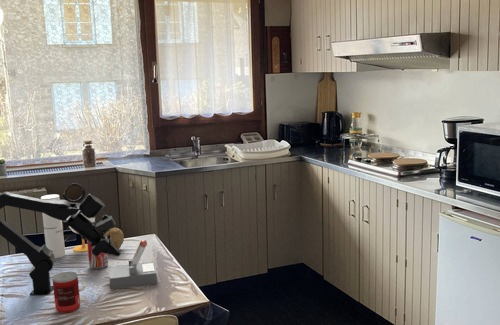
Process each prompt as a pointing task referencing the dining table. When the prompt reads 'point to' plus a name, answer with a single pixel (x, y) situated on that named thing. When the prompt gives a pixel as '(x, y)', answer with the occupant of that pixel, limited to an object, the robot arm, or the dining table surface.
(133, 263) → the switch lever
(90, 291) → the dining table surface
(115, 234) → the natural sponge
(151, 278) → the switch box
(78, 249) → the cup
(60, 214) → the robot arm
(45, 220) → the cylindrical container
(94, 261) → the soda can
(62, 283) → the canned food
